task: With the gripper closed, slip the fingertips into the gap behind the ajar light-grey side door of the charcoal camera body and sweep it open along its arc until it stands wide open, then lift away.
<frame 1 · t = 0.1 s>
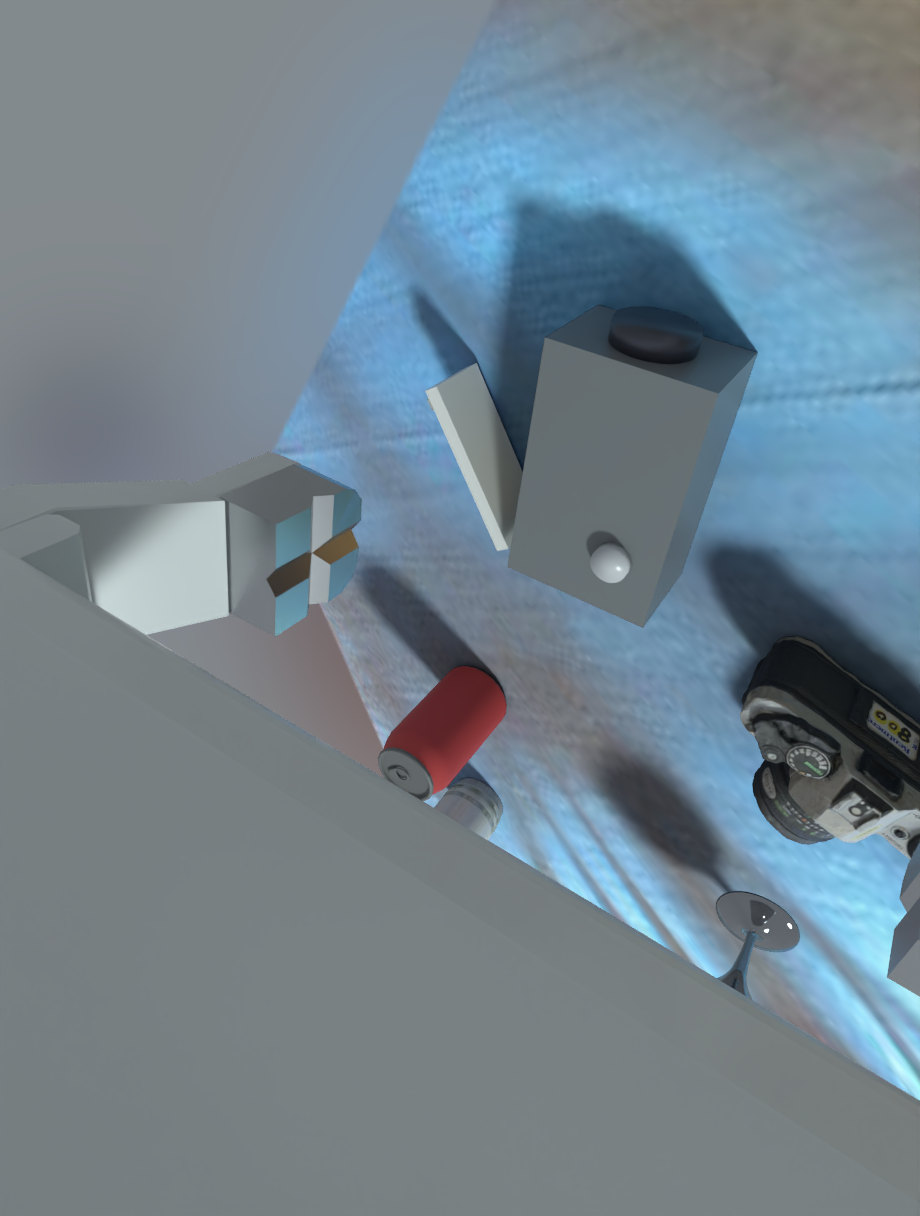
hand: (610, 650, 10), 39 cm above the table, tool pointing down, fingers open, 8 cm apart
side door: (483, 458, 55), point 3 cm above the table, hinge at 35.0°
beer can: (480, 690, 74), on the table
camera lens: (481, 797, 83), on the table
wine glass: (757, 920, 69), on the table
camera body: (642, 448, 52), on the table
camera: (846, 729, 55), on the table
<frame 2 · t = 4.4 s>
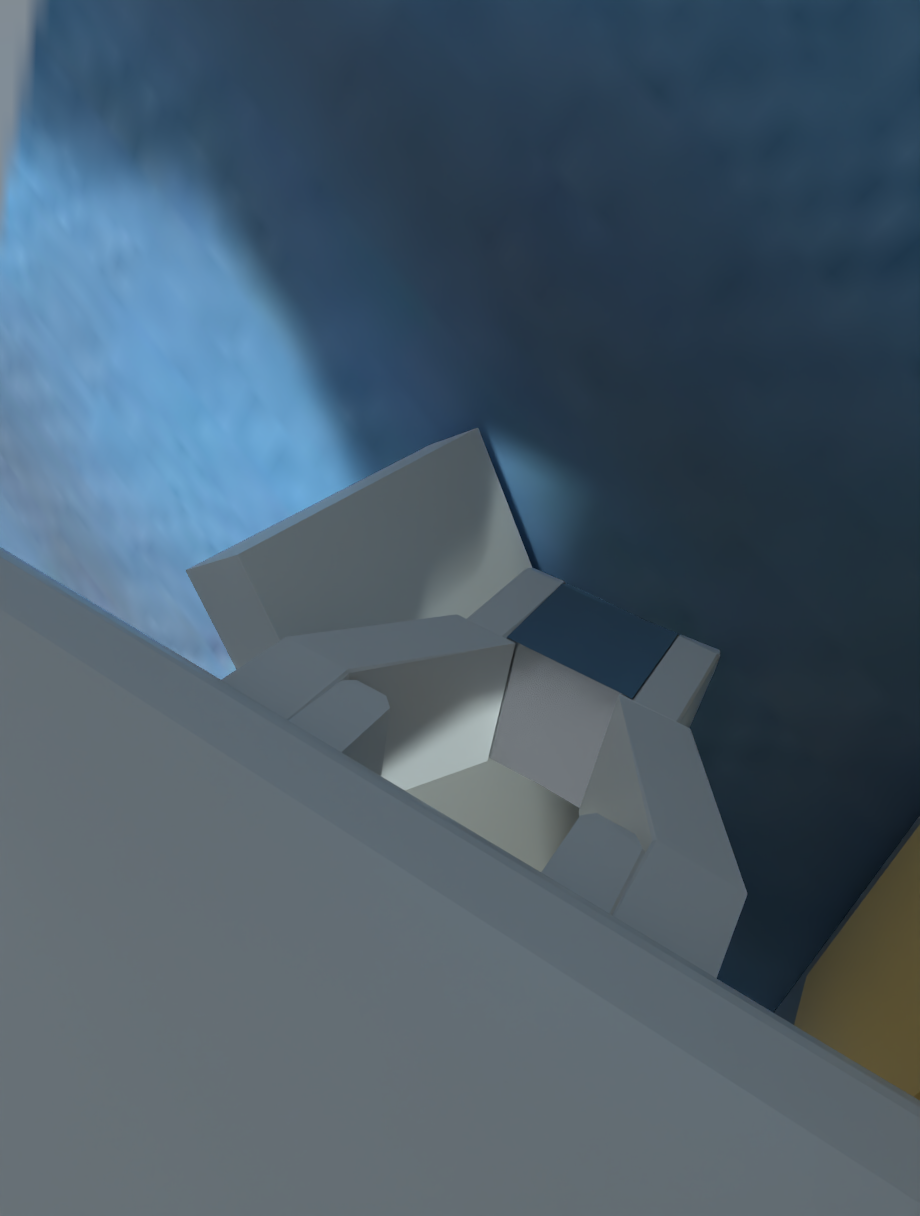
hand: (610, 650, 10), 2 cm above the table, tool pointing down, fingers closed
side door: (498, 853, 12), point 3 cm above the table, hinge at 35.7°, touching gripper
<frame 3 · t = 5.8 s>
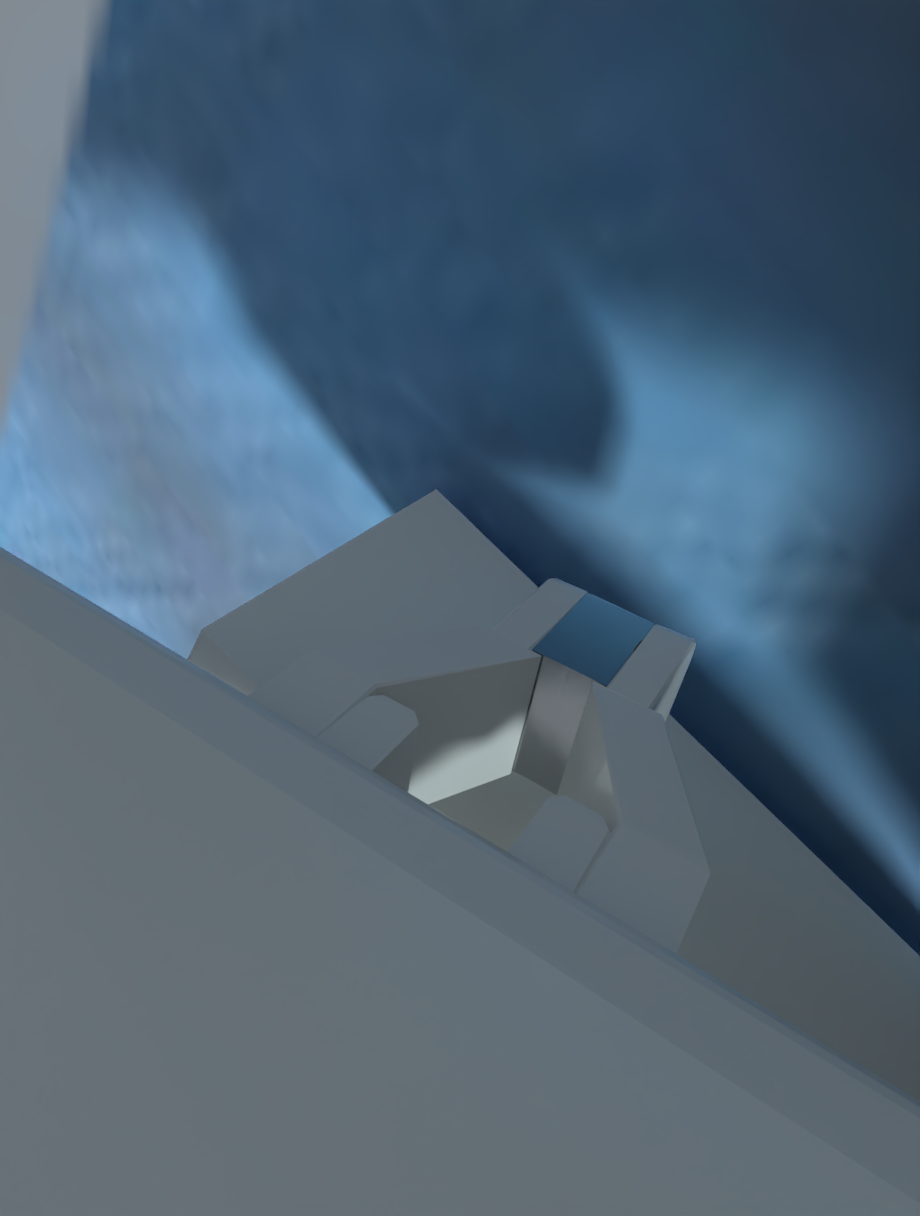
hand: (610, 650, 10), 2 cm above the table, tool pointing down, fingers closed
side door: (621, 884, 11), point 3 cm above the table, hinge at 66.6°, touching gripper
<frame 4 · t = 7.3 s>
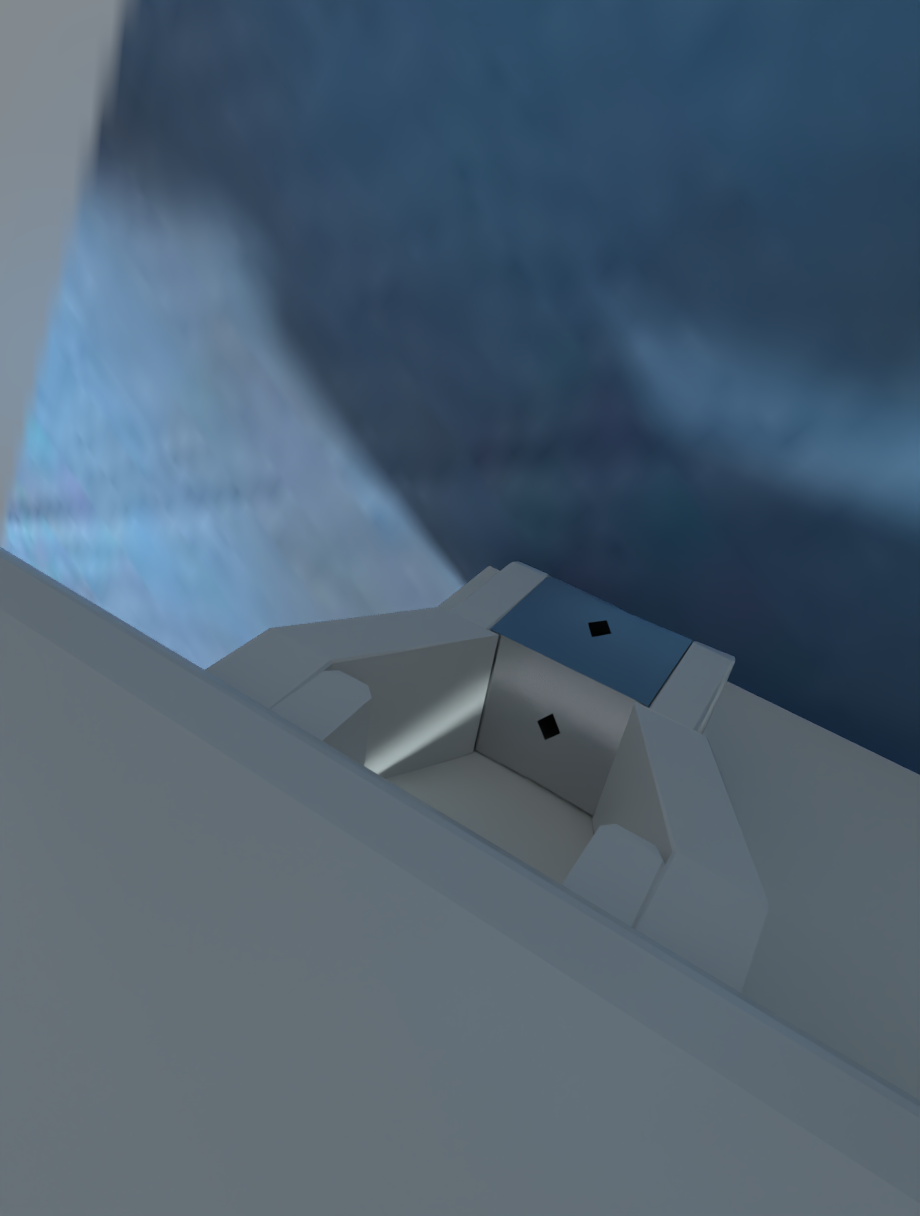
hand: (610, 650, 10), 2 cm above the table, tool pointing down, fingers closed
side door: (797, 908, 9), point 3 cm above the table, hinge at 88.3°, touching gripper
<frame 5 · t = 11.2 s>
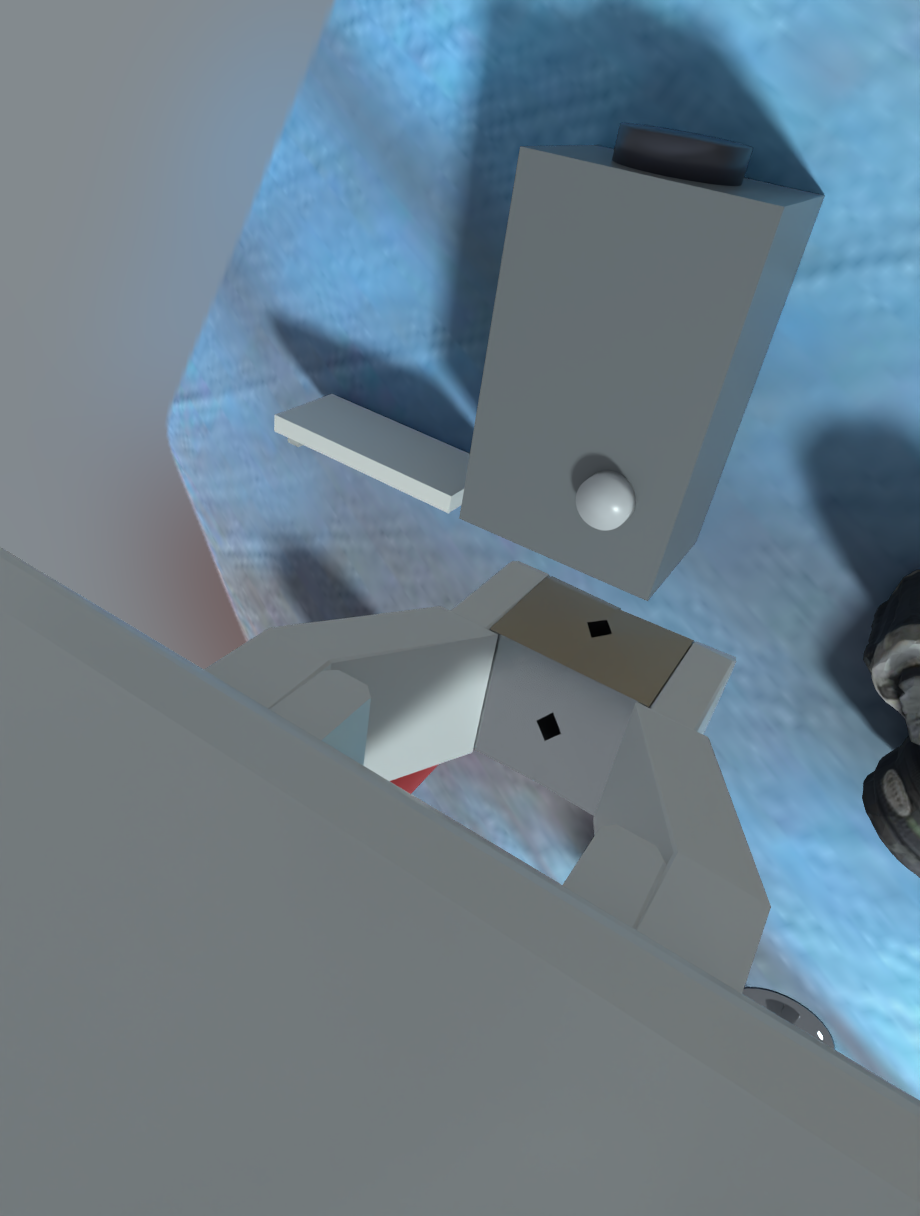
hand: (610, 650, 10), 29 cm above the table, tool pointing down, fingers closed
side door: (384, 453, 45), point 3 cm above the table, hinge at 88.3°
beer can: (424, 712, 58), on the table
wine glass: (777, 1027, 53), on the table
camera body: (649, 358, 37), on the table
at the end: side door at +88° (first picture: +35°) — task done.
